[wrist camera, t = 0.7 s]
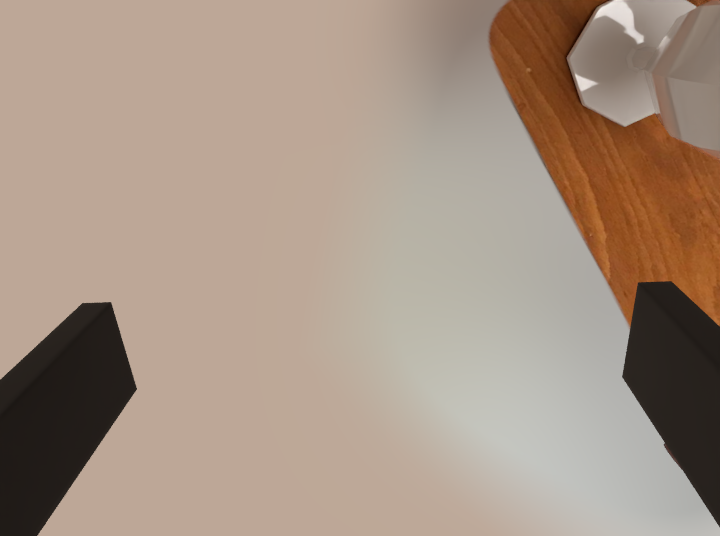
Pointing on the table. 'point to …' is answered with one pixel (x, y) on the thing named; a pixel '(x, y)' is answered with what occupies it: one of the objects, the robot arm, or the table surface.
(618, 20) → the wineglass
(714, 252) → the table surface
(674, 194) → the table surface
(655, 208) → the table surface
